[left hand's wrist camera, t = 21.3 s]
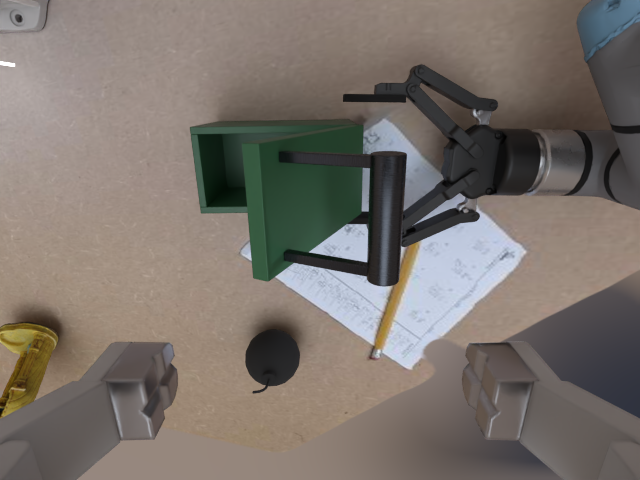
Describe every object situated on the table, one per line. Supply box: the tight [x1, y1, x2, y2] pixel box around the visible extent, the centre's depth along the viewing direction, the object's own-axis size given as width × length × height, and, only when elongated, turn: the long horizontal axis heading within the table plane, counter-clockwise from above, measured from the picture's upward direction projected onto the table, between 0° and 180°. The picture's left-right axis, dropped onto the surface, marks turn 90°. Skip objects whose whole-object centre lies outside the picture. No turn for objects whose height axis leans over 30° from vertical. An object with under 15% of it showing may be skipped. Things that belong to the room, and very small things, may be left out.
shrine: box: [0, 322, 59, 419], centre depth 52 cm, size 12×8×15 cm
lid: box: [242, 125, 407, 286], centre depth 30 cm, size 18×9×9 cm
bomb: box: [245, 329, 300, 393], centre depth 54 cm, size 8×8×12 cm
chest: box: [190, 119, 357, 213], centre depth 45 cm, size 17×9×11 cm, turn 91°
